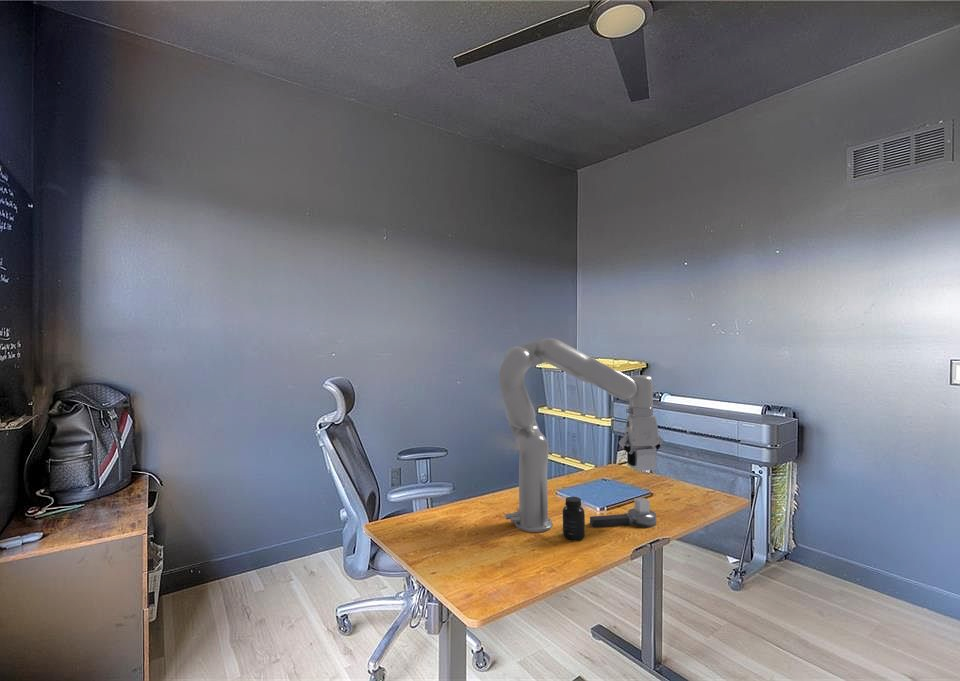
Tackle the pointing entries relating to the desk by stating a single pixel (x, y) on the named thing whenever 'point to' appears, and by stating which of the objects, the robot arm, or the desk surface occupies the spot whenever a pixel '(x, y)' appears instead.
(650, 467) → the grey matte cube
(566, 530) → the supplement bottle
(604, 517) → the ratchet
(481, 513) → the desk surface
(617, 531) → the desk surface
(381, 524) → the desk surface
